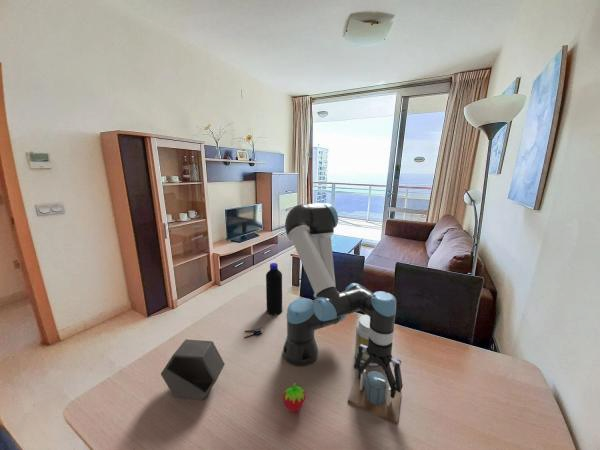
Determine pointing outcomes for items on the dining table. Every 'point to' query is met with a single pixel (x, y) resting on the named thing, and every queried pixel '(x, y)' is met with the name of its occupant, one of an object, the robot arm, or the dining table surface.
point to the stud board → (381, 410)
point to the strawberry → (294, 398)
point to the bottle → (274, 290)
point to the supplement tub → (363, 337)
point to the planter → (193, 369)
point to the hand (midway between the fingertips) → (375, 394)
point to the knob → (375, 387)
